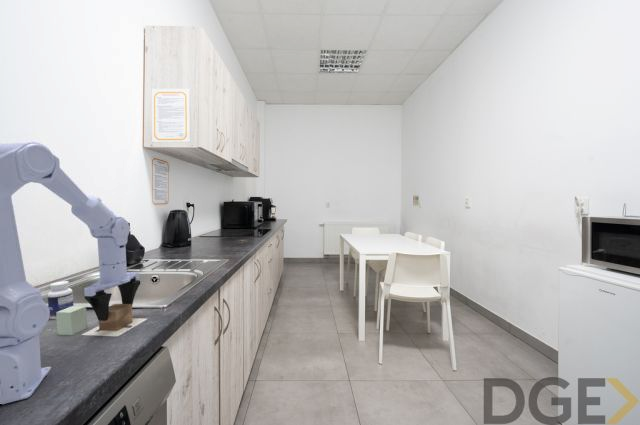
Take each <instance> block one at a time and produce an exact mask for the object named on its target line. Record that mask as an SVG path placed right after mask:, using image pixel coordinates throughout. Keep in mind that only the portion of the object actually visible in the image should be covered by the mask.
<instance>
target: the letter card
mask: <svg viewBox="0 0 640 425" xmlns="http://www.w3.org/2000/svg"><path fill="white" fill-rule="evenodd" d="M132 320H133V322H132V323H131V324H129V325H127V326H125V327H123V328H122V329H120V330H118V331H103V330H99V325H98V326H96V327H94V328H91V329H90V330H88V331H86V332H84V333H82V334H81V336H94V337H95V336H97V337H99V336H100V337H119V336H121V335H123V334H124V333H126V332H128V331H130V330H131V329H133V328H135V327H137V326H138V325H140V324H141V323H143V322H145V321H146V320H148V318H143V317H142V318H137V317H135V318H134V317H132Z"/></svg>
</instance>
